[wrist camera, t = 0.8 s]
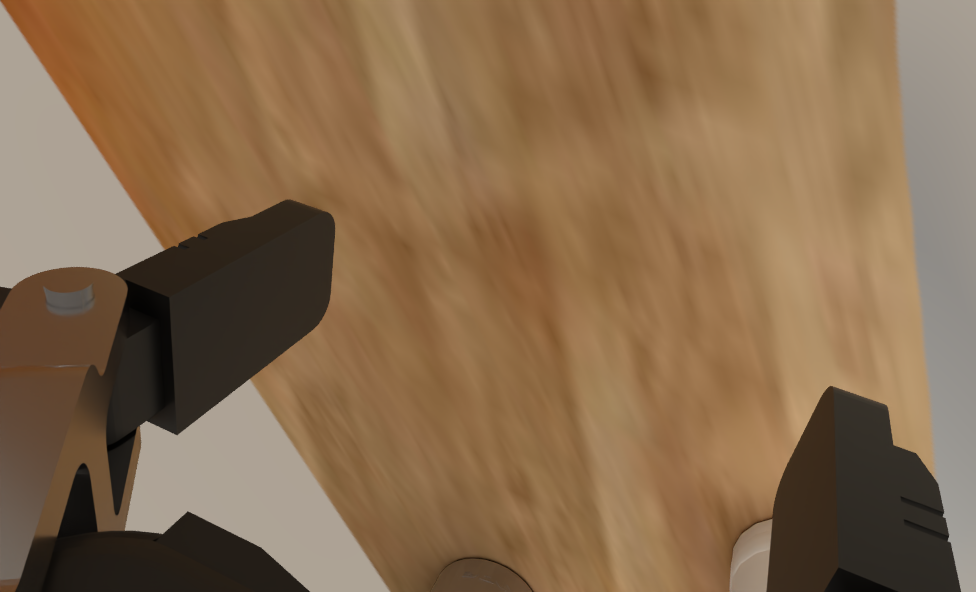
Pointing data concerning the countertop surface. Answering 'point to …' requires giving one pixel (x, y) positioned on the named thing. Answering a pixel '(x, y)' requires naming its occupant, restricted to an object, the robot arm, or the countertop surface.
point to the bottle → (751, 559)
